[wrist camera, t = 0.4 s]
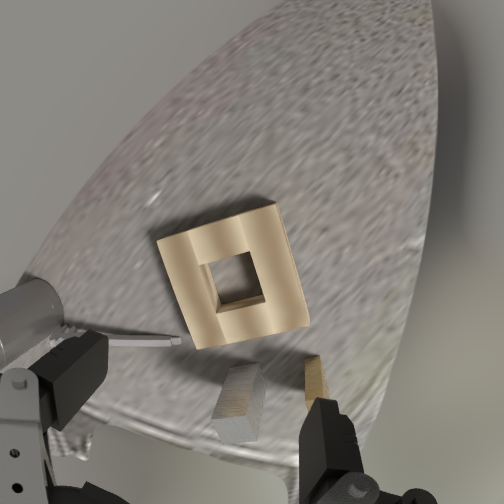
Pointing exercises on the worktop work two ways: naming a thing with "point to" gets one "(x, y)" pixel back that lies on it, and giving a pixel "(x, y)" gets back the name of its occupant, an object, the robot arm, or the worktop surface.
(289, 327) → the socket block
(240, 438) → the square bit
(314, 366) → the light brown wooden block
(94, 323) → the worktop surface
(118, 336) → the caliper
